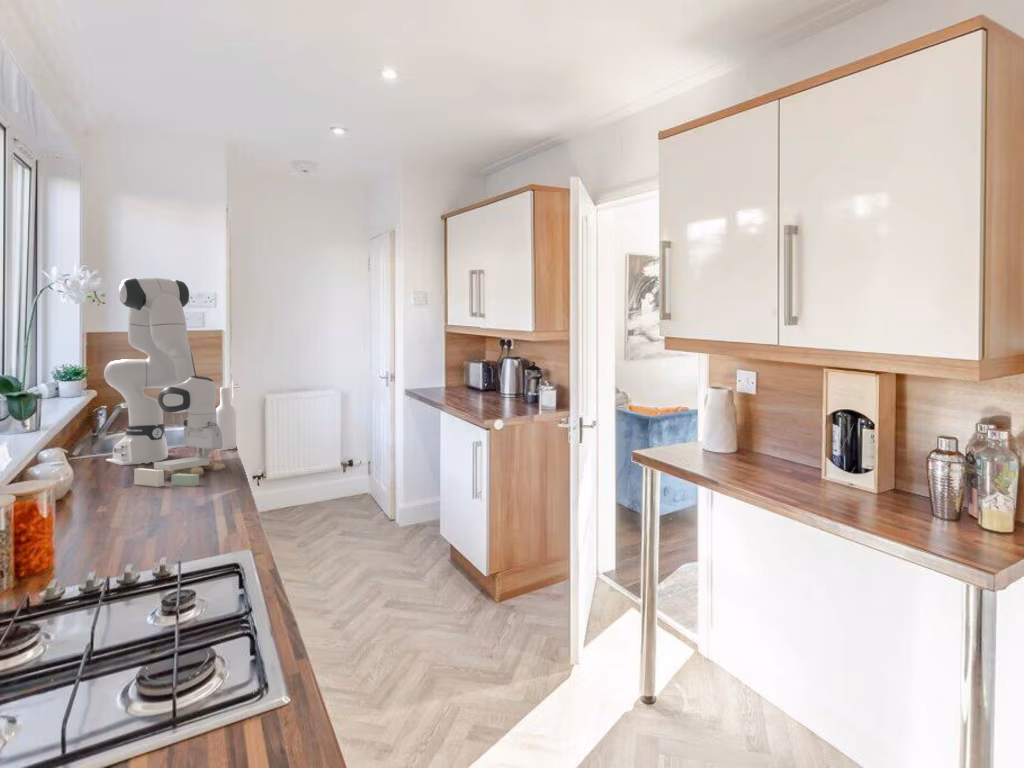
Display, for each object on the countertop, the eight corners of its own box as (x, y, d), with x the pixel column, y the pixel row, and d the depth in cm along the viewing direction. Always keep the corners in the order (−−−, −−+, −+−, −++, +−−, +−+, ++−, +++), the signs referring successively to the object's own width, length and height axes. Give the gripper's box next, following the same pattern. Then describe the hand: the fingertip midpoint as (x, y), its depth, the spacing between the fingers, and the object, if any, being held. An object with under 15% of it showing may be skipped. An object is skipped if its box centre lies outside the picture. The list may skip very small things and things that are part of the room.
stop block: (134, 484, 190) (134, 469, 190) (140, 483, 192) (140, 468, 192) (158, 486, 186) (158, 471, 186) (164, 485, 188) (163, 470, 188)
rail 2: (191, 473, 210) (191, 462, 210) (201, 471, 214) (200, 460, 214) (216, 475, 206) (216, 464, 205) (225, 473, 209) (225, 462, 209)
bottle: (215, 462, 235) (214, 387, 234) (214, 459, 242) (213, 387, 241) (237, 461, 238) (236, 387, 237) (236, 458, 245) (235, 387, 244)
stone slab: (153, 468, 197) (153, 462, 197) (194, 462, 209) (194, 456, 209) (169, 470, 192) (168, 464, 192) (209, 464, 204) (209, 458, 204)
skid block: (171, 485, 189) (171, 474, 189) (179, 483, 192) (178, 473, 192) (191, 486, 187) (191, 476, 187) (199, 485, 190) (198, 474, 190)
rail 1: (168, 477, 202) (168, 466, 202) (178, 475, 205) (178, 464, 205) (193, 480, 197) (193, 468, 197) (204, 478, 201) (203, 466, 201)
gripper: (227, 422, 204) (228, 461, 204) (197, 419, 216) (198, 457, 216) (209, 423, 199) (210, 464, 199) (179, 421, 210) (180, 459, 211)
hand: (203, 460), depth 208 cm, fingers closed
